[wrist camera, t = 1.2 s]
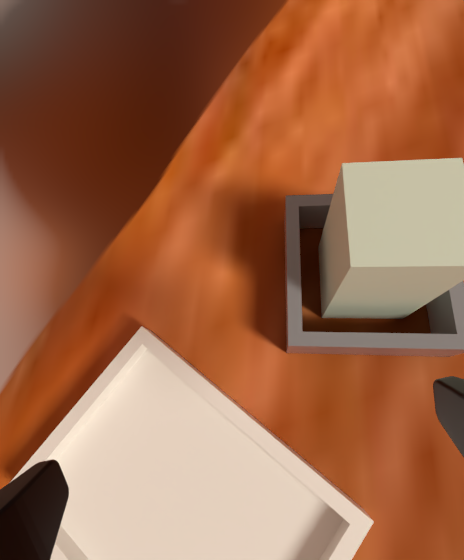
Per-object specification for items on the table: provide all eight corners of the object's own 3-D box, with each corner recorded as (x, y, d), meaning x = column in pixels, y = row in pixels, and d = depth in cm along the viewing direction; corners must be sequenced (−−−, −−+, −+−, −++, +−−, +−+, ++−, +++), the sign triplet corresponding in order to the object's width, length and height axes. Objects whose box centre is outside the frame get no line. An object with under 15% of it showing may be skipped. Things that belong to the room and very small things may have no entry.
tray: (363, 509, 18) (373, 521, 16) (226, 737, 16) (219, 782, 14) (152, 331, 23) (141, 325, 21) (22, 488, 21) (-3, 497, 19)
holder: (448, 356, 20) (476, 349, 17) (286, 352, 21) (288, 345, 19) (424, 215, 23) (445, 190, 21) (284, 219, 25) (285, 195, 22)
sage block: (402, 318, 21) (486, 265, 13) (321, 317, 22) (350, 267, 14) (393, 246, 23) (462, 158, 15) (318, 247, 24) (341, 163, 15)
